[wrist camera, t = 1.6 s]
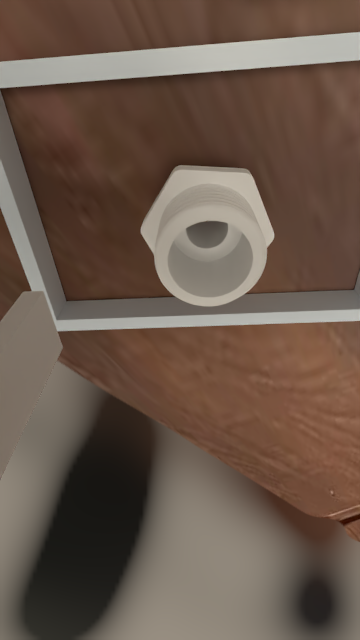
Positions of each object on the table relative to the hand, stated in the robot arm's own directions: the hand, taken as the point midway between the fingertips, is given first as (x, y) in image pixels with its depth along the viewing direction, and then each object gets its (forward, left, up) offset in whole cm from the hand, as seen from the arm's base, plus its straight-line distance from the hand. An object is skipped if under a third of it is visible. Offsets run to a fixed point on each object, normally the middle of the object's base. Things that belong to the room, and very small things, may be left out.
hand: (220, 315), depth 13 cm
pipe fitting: (0, 0, -12) cm, 12 cm away
